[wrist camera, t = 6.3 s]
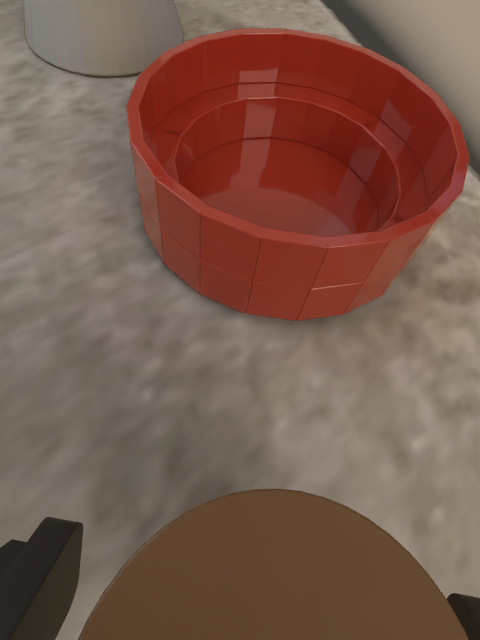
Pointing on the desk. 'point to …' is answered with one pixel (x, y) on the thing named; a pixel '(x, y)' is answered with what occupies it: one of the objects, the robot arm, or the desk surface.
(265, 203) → the bowl
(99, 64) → the lamp
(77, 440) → the desk surface
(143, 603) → the tea tin
